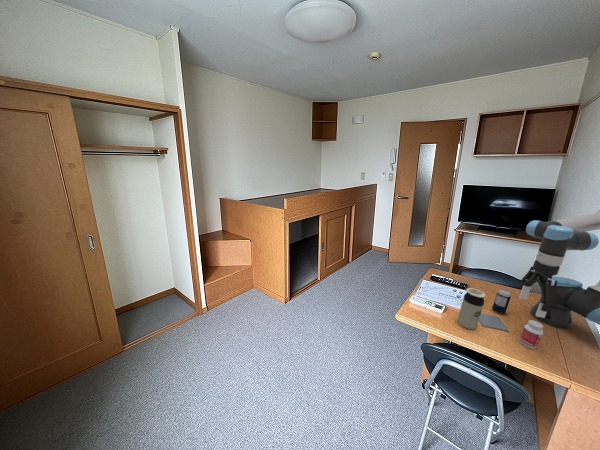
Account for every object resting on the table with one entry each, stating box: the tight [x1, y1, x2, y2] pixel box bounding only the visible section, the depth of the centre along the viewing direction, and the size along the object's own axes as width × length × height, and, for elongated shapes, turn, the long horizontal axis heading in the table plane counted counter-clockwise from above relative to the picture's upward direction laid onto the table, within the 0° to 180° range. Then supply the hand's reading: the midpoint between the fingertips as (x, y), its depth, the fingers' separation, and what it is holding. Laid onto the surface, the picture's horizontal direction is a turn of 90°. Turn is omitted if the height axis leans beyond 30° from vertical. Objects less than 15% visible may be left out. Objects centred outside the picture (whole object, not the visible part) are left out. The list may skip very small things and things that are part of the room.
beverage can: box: [492, 289, 512, 315], centre depth 129 cm, size 6×6×12 cm
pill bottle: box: [518, 319, 544, 350], centre depth 107 cm, size 6×6×11 cm
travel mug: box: [456, 287, 486, 330], centre depth 117 cm, size 8×8×18 cm
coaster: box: [478, 312, 510, 333], centre depth 122 cm, size 11×11×1 cm
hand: (530, 307), depth 106 cm, fingers open, 13 cm apart
